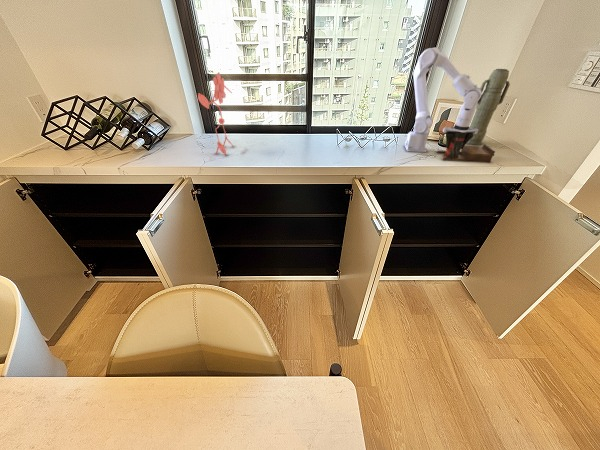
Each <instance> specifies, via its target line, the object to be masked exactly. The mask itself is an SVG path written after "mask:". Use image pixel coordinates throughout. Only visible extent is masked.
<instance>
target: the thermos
mask: <svg viewBox="0 0 600 450" xmlns="http://www.w3.org/2000/svg"><path fill="white" fill-rule="evenodd" d="M509 74H510V70H509V69H506V68H496V69H494V70H493V71H492V72H491V73H490V75H489V77H488V79H485V80H484V81H483V82H482V83H481V85H480V87H479V88H480V89H481V92H482V95H481V98H480V99H479V101H478V103H477V106H476V110H475V112H474V115H473V118H472V120H471V123H470V125H469V128H477V129H478V132H477V134H474V133H473V137H472V138H471V139H470V140H469V141H468V142H467V143H466V144H465V145H469V146H481V145H482V142H483V140H485V136H486V134H487V133H488V132H487V131H488V127H489V124H490V122H491V119H492V117H493V115H494V113H495V111H496V110H497V108H498V106H499V105H501V104H502V103H503V101H504V99H505V97H506V94H507V92H508V90H509V87H510V85H511V84H510V81H509V80H508V79H509Z"/></svg>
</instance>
